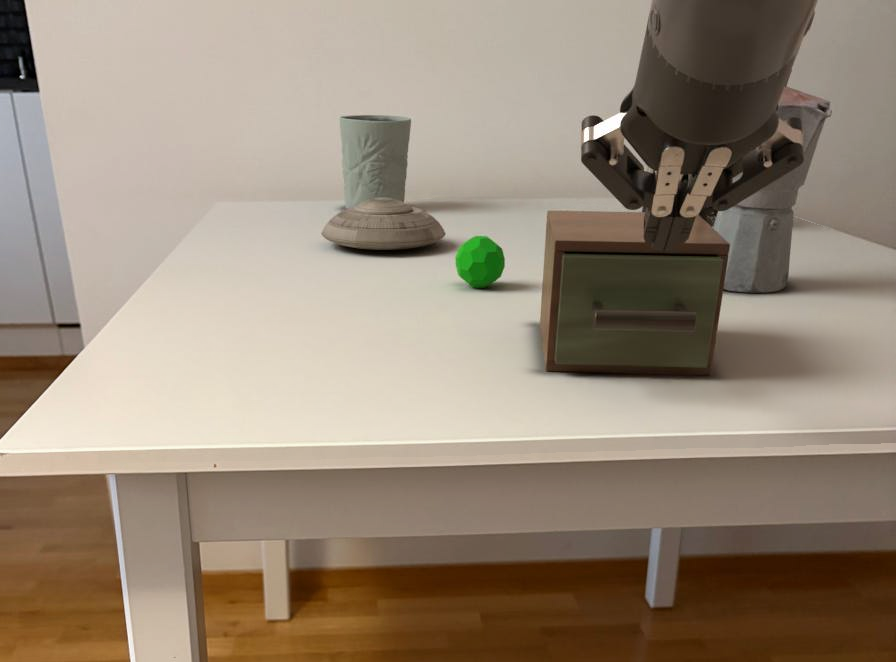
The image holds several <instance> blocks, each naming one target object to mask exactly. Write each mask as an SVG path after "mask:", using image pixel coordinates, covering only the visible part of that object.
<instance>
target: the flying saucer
mask: <svg viewBox="0 0 896 662" xmlns="http://www.w3.org/2000/svg"><path fill="white" fill-rule="evenodd" d="M320 234H321V236H322V238H324V239H325V240H326V241H328V242H331V243H333V244H336V245H339V246H343V247H346V248H347V247H348V248H353V249H354V248H355V249H361V250H373V251H374V250H375V251H393V250H394V251H395V250H396V251H397V250H407V249H415V248H421V247H424V246H428V245H429V246H430V245H431V244H432V245H433V244H434V243H436V242H439V241H441V240H442V239H443V238H444V237H445V236H446V235H447V233H446V231H445V229H444V227H443V226H442V225H441V223H440V222H439V221H438V220H437V219H436V218H435V217H434V216H433V215H432V214H430V213H428V212H427V211H425V210H423V209H421V208H419V207H415V206H410V205H409V204H408V203H406V202H405V201H404V202H402V201H399V200H396V199H392V198H386V197H380V198H374V199H370V200H367V201H365V202H362V203H361V204H359V205H357V206H356V207H350V208H347V209H346V208H344V209H342V210H341V211H339V213H337V214H335V215H333V216H332V217H331V219H329V220H328V222H327V223H326V224H325V225H324V227H323V229H322V231H321V233H320Z"/></svg>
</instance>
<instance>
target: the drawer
mask: <svg viewBox="0 0 896 662" xmlns="http://www.w3.org/2000/svg"><path fill="white" fill-rule="evenodd" d="M722 263H723V260H722V259H721V258H720V257H706V255H694V254H643V253H593V252H565V254H563V255H562V266H561V279H560V293H559V306H558V320H557V333H556V347H555V364H579V365H617V366H656V367H694V368H707V364H708V357H709V350H710V344H711V337H712V330H713V323H714V317H715V310H716V303H717V296H718V290H719V283H720V276H721V270H722Z"/></svg>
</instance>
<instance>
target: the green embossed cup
mask: <svg viewBox="0 0 896 662" xmlns="http://www.w3.org/2000/svg"><path fill="white" fill-rule="evenodd" d="M338 121H339V130H340V132H339V133H340V140H341V155H342V159H341V166H342V176H343V183H344V185H343V192H344V206H345V209H347V208H350V207H356V206H357V205H359V204H361V203H362V202H365V201H367V200H370V199H374V198H380V197H386V198H392V199H396V200H399V201H402V202H404V203H405V197H406V181H407V173H408V172H407V171H408V170H407V169H408V163H409V162H408V158H409V157H408V154H409V145H410V139H411V138H410V137H411V126H412V119H411V118H410V117H405V116H398V115H385V114H383V115H381V114H353V115H352V114H350V115H342V116H339V120H338Z"/></svg>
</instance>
